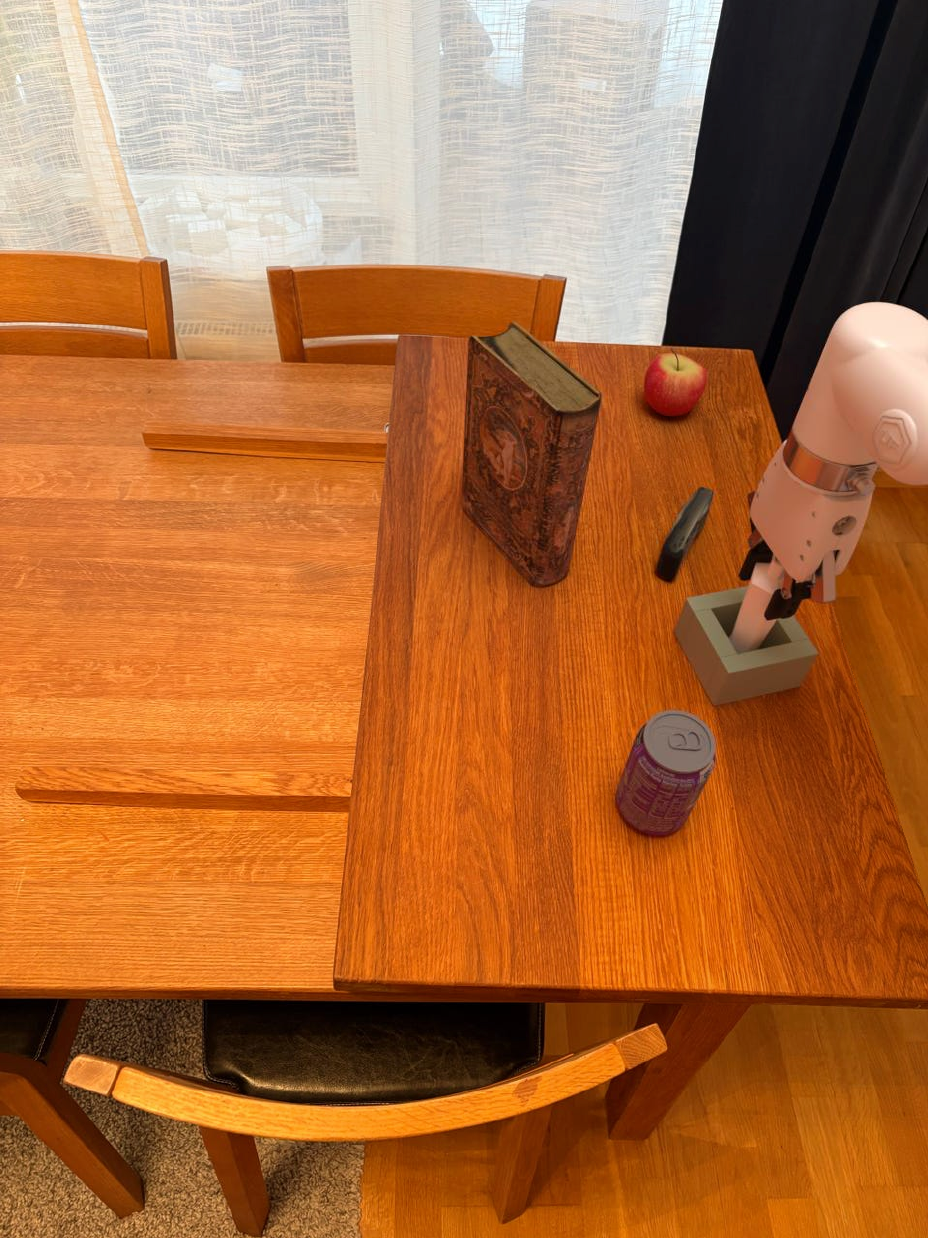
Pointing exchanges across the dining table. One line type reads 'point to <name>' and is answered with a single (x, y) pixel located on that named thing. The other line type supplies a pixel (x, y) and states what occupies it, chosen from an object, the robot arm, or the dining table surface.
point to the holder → (745, 673)
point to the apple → (674, 383)
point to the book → (526, 450)
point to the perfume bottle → (757, 607)
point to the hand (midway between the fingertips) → (766, 594)
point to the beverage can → (666, 772)
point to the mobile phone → (684, 533)
